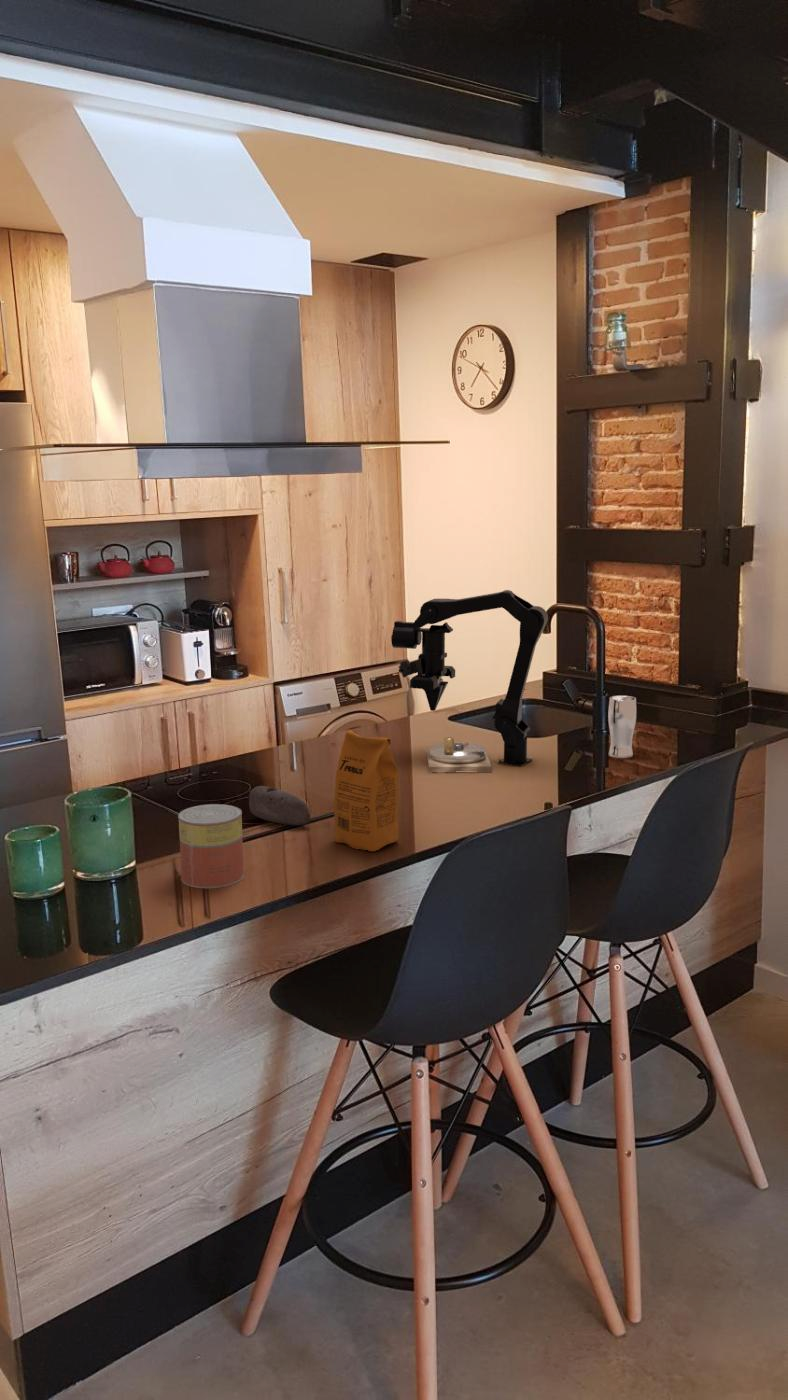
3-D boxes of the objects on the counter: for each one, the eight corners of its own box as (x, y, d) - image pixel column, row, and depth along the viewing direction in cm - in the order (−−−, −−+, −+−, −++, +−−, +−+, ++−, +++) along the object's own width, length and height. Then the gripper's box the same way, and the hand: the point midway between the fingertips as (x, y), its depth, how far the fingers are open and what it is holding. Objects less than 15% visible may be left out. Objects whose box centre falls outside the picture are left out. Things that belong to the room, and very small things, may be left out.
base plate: (484, 753, 279) (484, 747, 279) (491, 772, 262) (491, 766, 261) (426, 754, 279) (426, 748, 279) (429, 773, 262) (429, 767, 261)
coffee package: (361, 829, 221) (360, 724, 216) (406, 842, 212) (405, 734, 208) (326, 841, 214) (323, 733, 209) (370, 856, 205) (369, 743, 201)
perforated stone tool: (317, 825, 223) (316, 793, 222) (301, 832, 219) (300, 799, 218) (264, 813, 232) (263, 782, 230) (247, 819, 228) (245, 787, 226)
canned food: (247, 865, 201) (245, 803, 199) (240, 887, 190) (238, 822, 187) (186, 866, 201) (183, 804, 198) (176, 889, 190) (173, 824, 187)
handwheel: (443, 746, 279) (443, 724, 278) (494, 752, 273) (494, 730, 272) (420, 759, 267) (420, 736, 266) (473, 765, 261) (473, 742, 260)
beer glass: (605, 757, 274) (607, 700, 271) (608, 751, 280) (610, 694, 277) (633, 759, 272) (635, 701, 269) (635, 752, 278) (638, 696, 275)
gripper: (415, 642, 282) (415, 700, 285) (390, 653, 265) (390, 715, 268) (456, 644, 278) (455, 704, 281) (433, 656, 261) (432, 719, 264)
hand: (432, 710), depth 274 cm, fingers closed
